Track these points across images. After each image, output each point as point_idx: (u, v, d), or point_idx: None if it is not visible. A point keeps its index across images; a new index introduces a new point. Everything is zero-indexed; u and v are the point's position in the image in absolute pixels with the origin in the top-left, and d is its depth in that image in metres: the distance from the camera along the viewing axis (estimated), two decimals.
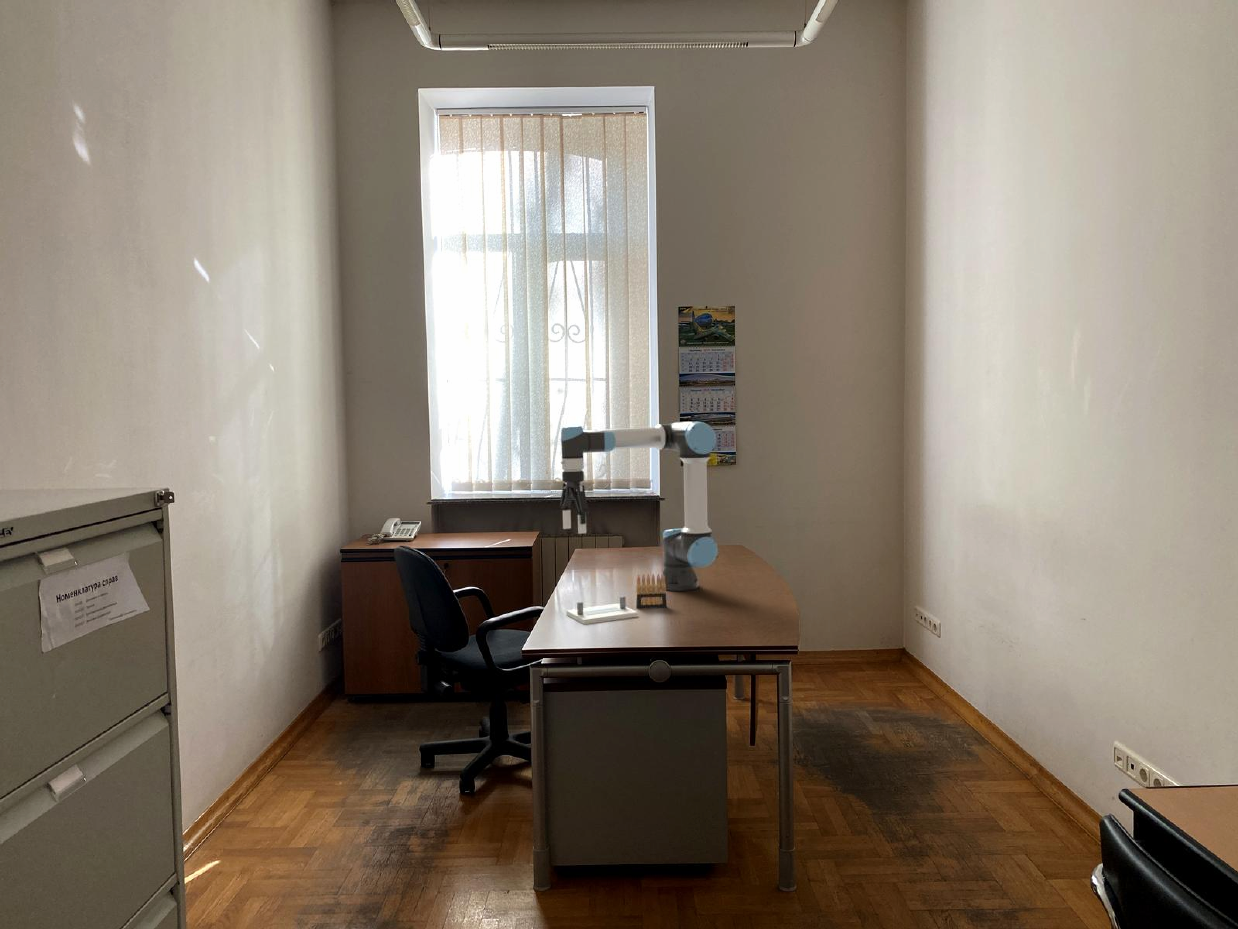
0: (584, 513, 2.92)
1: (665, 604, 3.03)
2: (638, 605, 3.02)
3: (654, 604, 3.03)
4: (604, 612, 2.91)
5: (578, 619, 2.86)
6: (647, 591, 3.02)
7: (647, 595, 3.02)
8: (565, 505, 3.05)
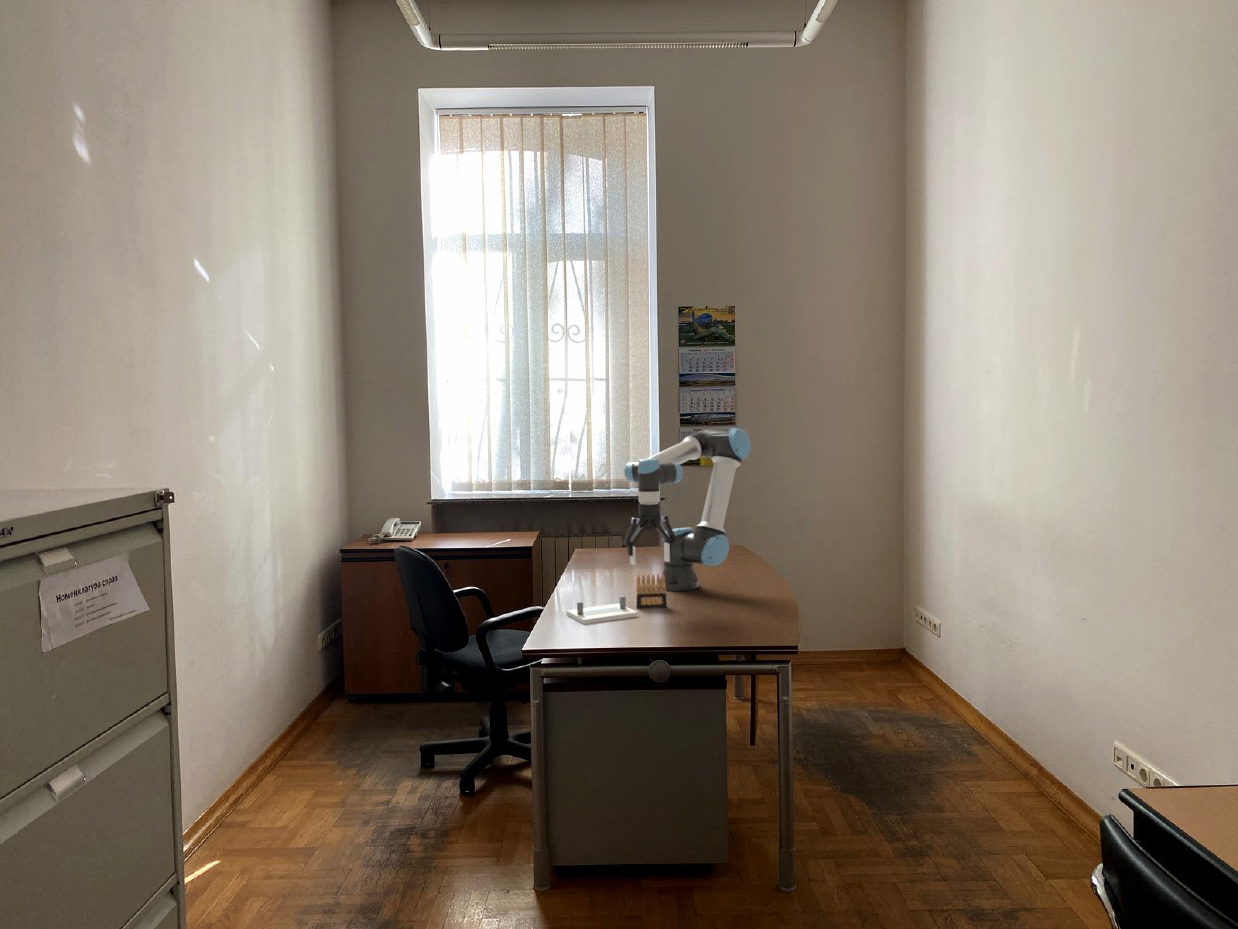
0: None
1: (665, 604, 3.03)
2: (638, 605, 3.02)
3: (654, 604, 3.03)
4: (604, 612, 2.91)
5: (578, 619, 2.86)
6: (647, 591, 3.02)
7: (647, 595, 3.02)
8: (663, 537, 3.05)
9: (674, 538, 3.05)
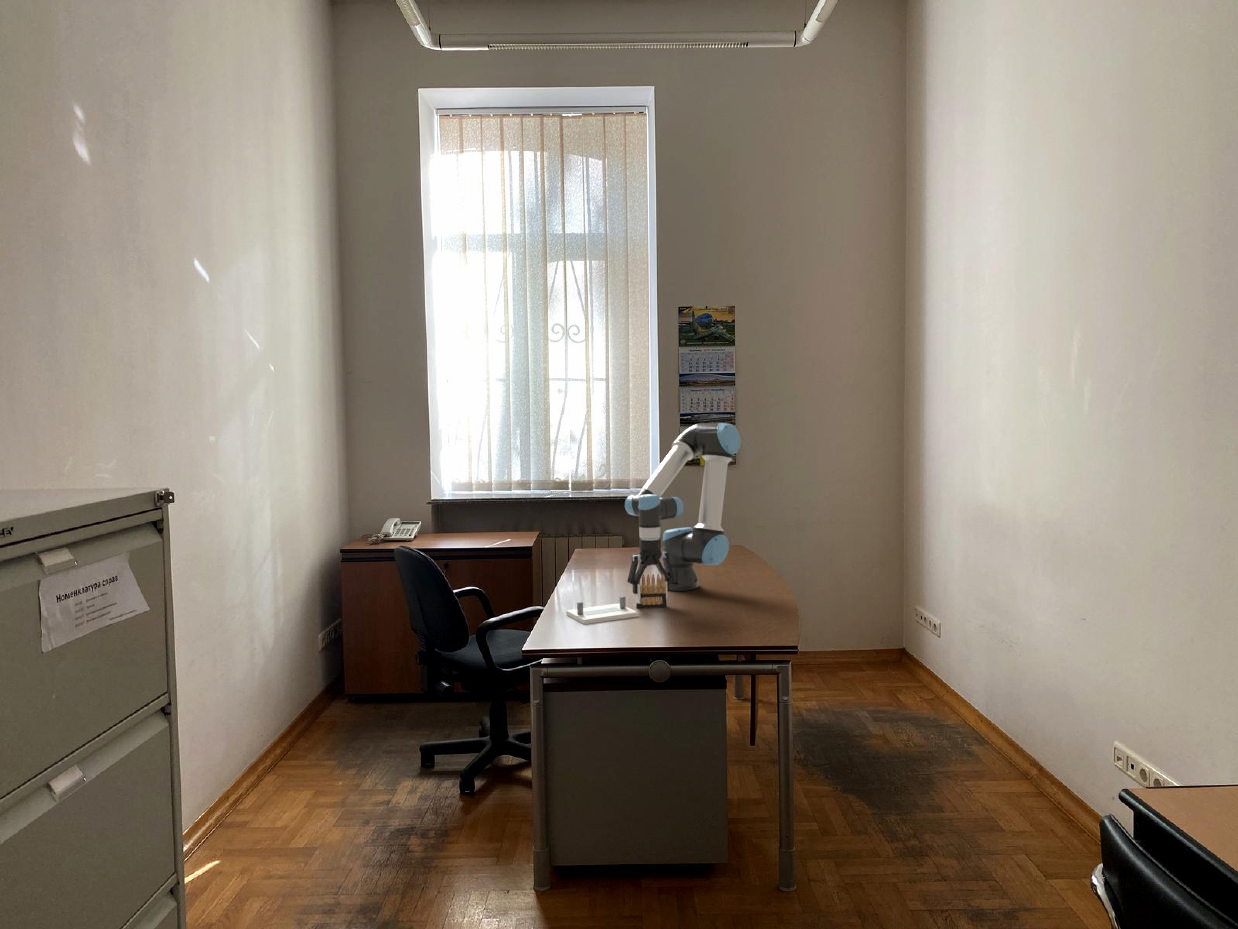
0: (630, 583, 2.99)
1: (665, 604, 3.03)
2: (638, 605, 3.02)
3: (654, 604, 3.03)
4: (604, 612, 2.91)
5: (578, 619, 2.86)
6: (647, 591, 3.02)
7: (647, 595, 3.02)
8: (661, 574, 3.05)
9: (672, 576, 3.05)
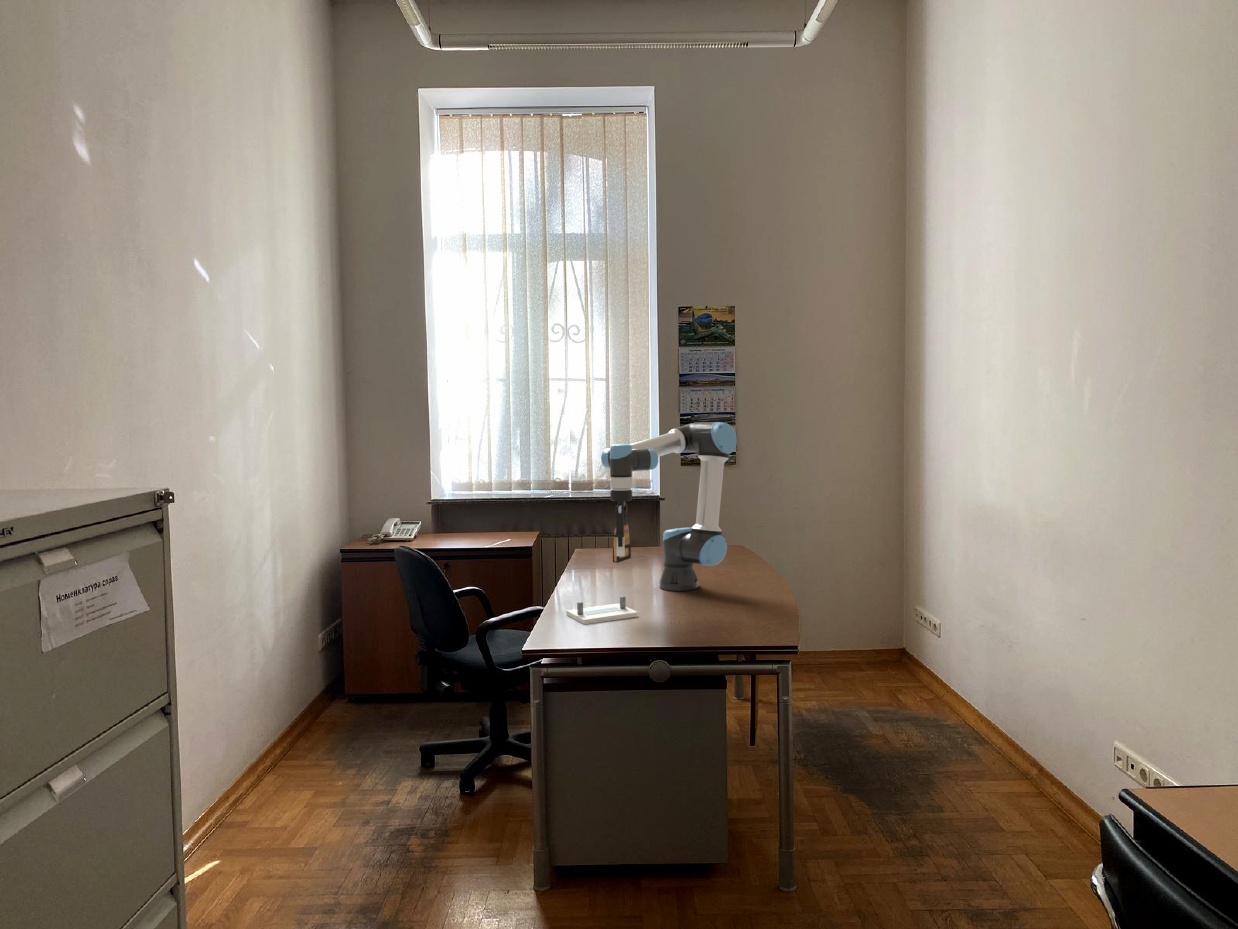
0: (619, 536, 2.88)
1: (630, 555, 3.00)
2: (618, 559, 2.91)
3: (625, 556, 2.97)
4: (604, 612, 2.91)
5: (578, 619, 2.86)
6: None
7: None
8: None
9: None
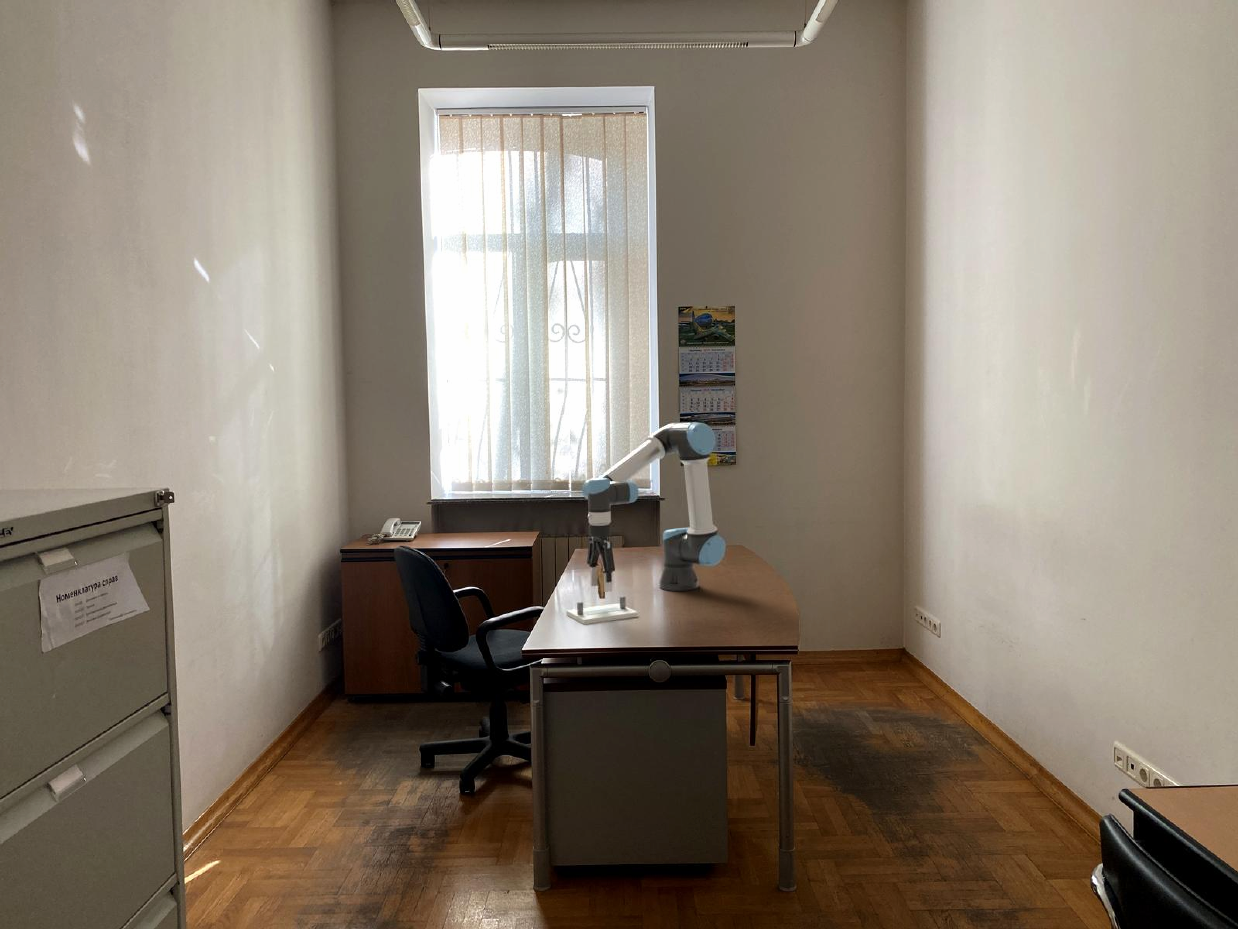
0: (610, 571, 2.85)
1: None
2: (604, 594, 2.88)
3: None
4: (604, 612, 2.91)
5: (578, 619, 2.86)
6: None
7: None
8: (592, 561, 2.96)
9: None
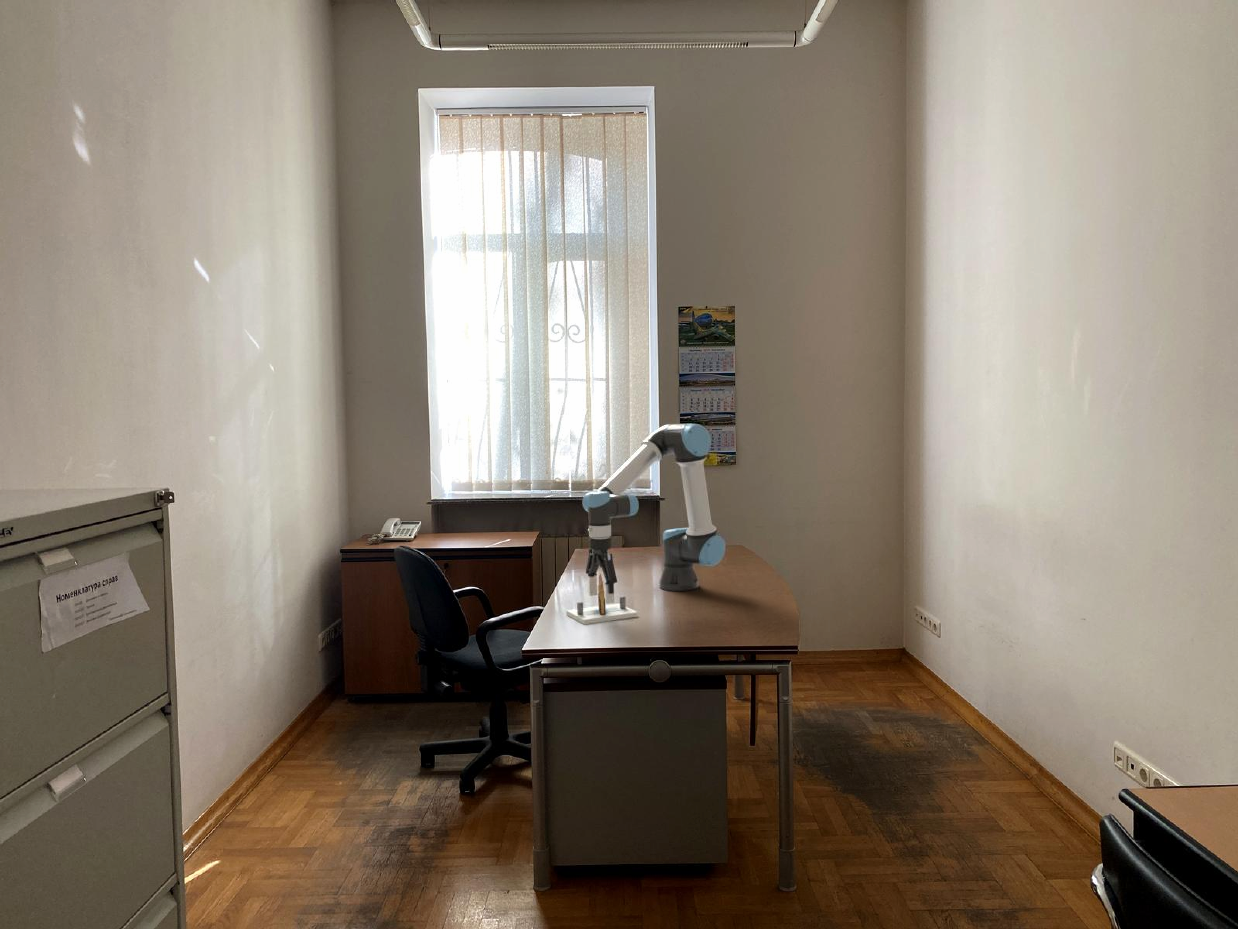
0: (612, 583, 2.84)
1: None
2: None
3: None
4: None
5: (578, 619, 2.86)
6: None
7: None
8: (591, 571, 2.97)
9: None
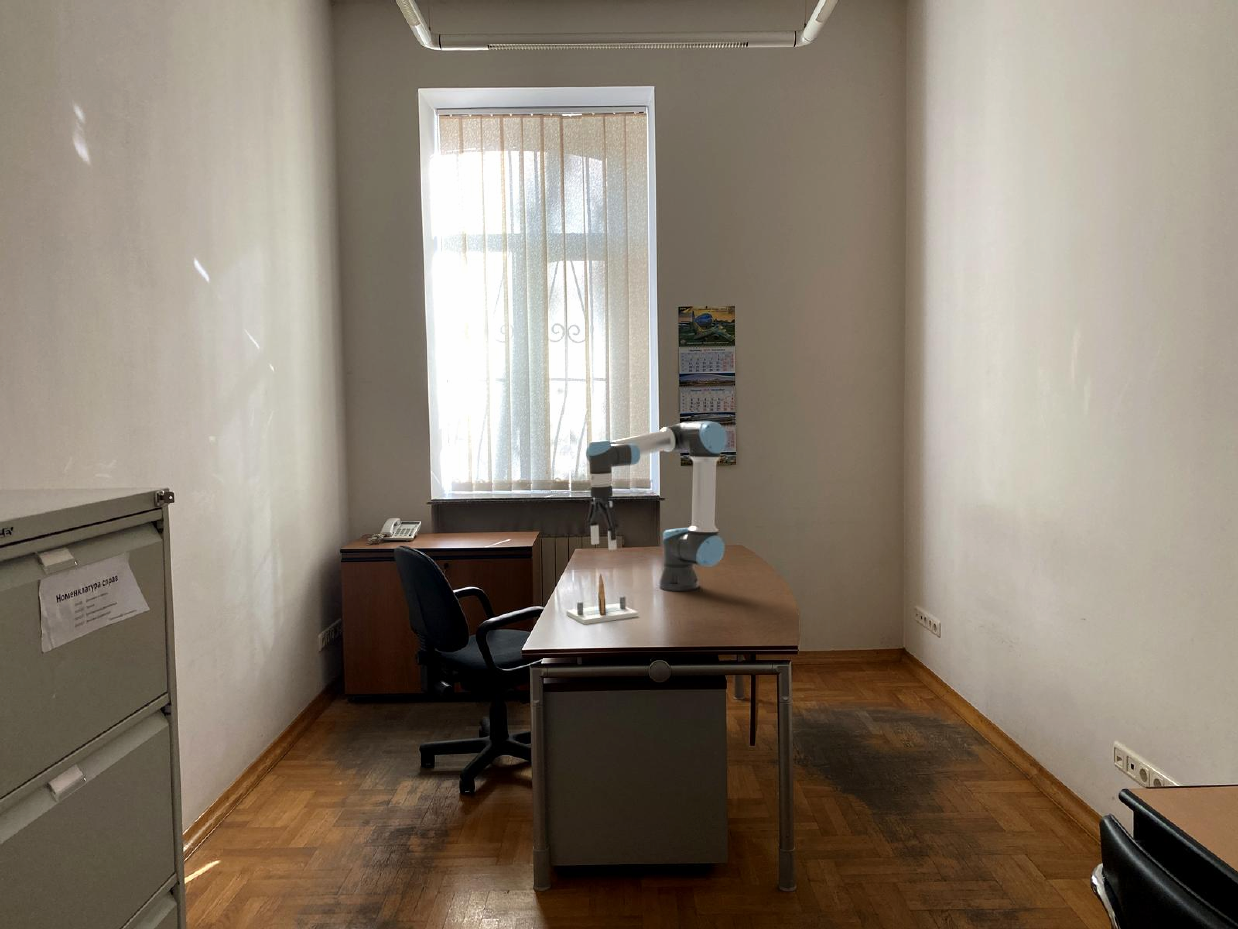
0: (614, 529, 2.87)
1: None
2: (605, 610, 2.89)
3: None
4: None
5: (578, 619, 2.86)
6: None
7: None
8: (593, 520, 3.00)
9: None
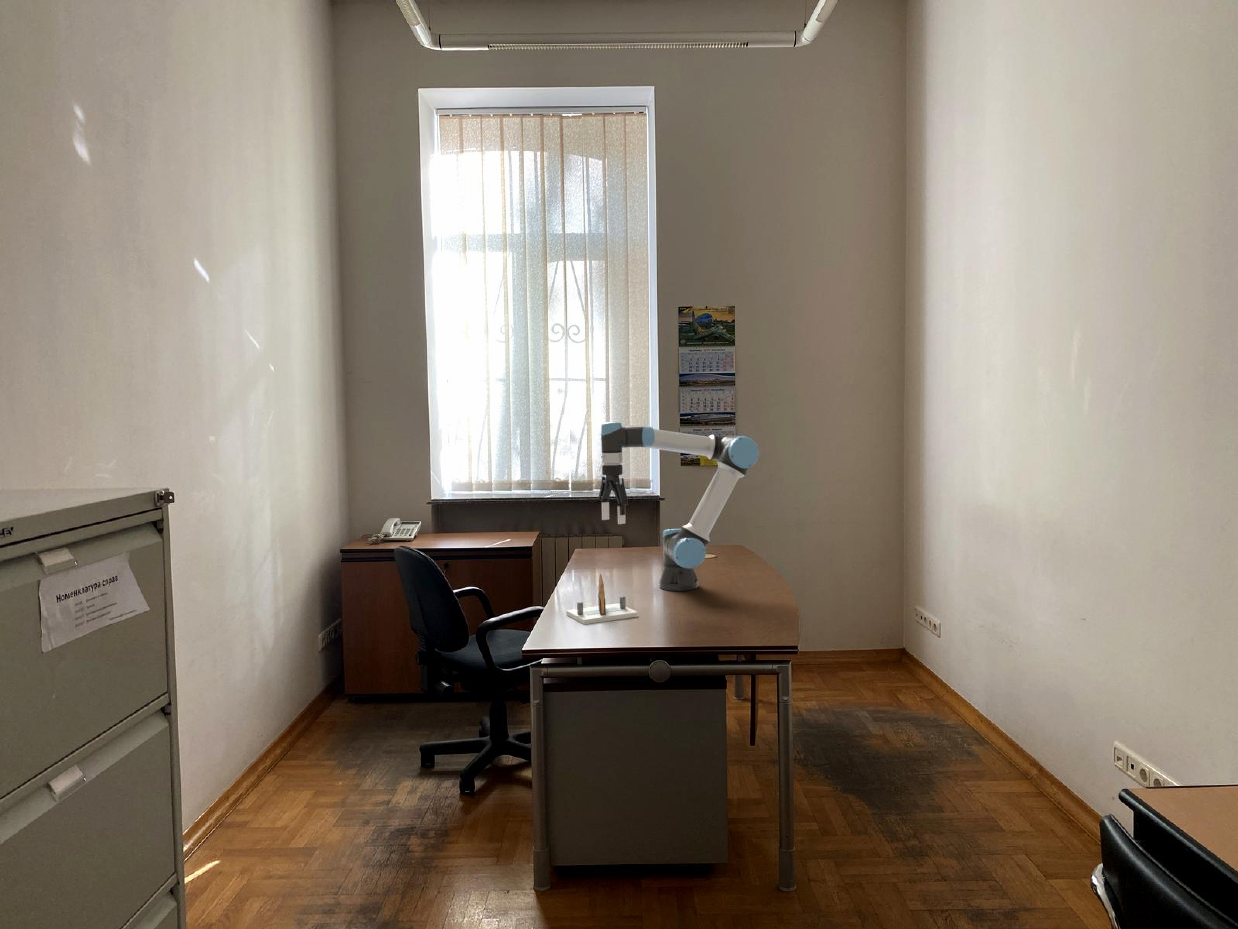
0: (624, 504, 3.07)
1: None
2: (605, 610, 2.89)
3: None
4: None
5: (578, 619, 2.86)
6: None
7: None
8: (604, 497, 3.21)
9: None
